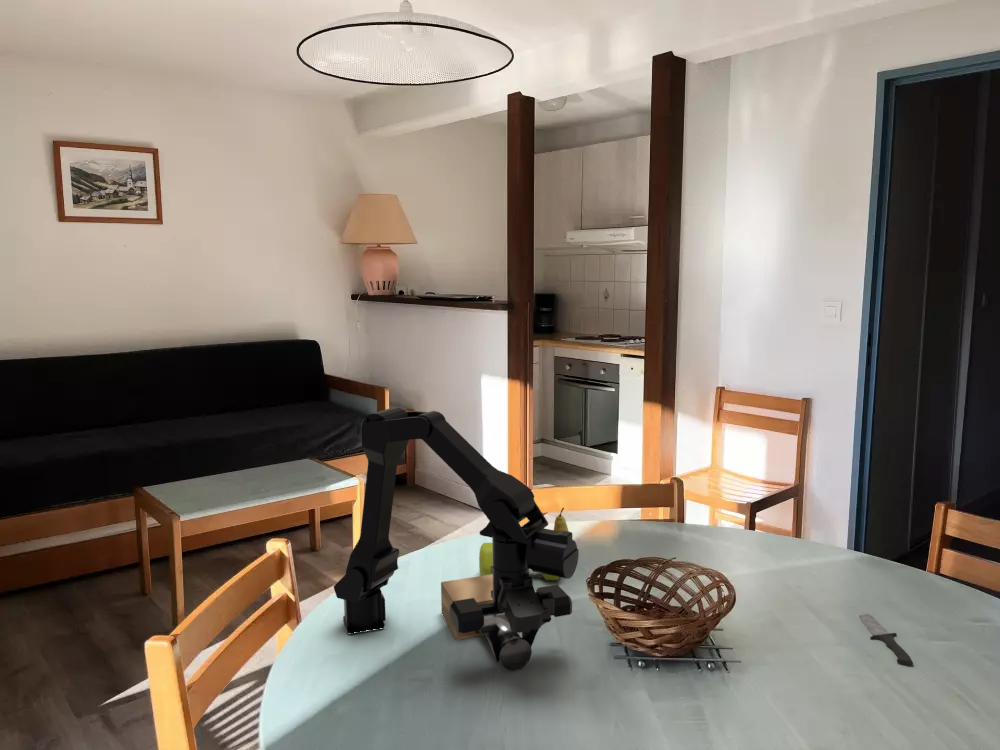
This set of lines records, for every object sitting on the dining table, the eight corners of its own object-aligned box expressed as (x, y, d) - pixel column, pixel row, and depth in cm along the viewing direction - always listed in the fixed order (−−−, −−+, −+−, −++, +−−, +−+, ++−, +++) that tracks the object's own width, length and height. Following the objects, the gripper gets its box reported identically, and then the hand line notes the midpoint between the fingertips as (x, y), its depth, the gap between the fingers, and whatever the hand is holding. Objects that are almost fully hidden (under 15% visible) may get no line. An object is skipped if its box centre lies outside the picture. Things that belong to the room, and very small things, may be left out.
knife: (837, 601, 142) (865, 601, 142) (837, 606, 143) (864, 606, 142) (894, 660, 120) (926, 661, 120) (893, 667, 120) (926, 667, 120)
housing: (456, 639, 130) (455, 605, 129) (441, 614, 139) (441, 582, 138) (522, 628, 134) (522, 594, 133) (503, 603, 143) (503, 572, 142)
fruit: (578, 555, 166) (578, 501, 164) (566, 564, 161) (566, 509, 159) (555, 550, 169) (555, 497, 167) (543, 558, 164) (543, 505, 162)
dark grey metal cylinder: (500, 673, 119) (500, 642, 118) (473, 630, 132) (472, 602, 131) (531, 667, 120) (531, 636, 119) (501, 625, 134) (501, 597, 133)
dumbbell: (558, 569, 159) (558, 536, 158) (562, 585, 151) (562, 551, 150) (479, 571, 158) (478, 538, 157) (479, 587, 150) (479, 553, 149)
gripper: (468, 595, 108) (469, 696, 111) (587, 576, 114) (586, 673, 117) (447, 565, 119) (449, 659, 121) (558, 549, 125) (557, 639, 127)
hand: (511, 658), depth 121 cm, fingers closed on dark grey metal cylinder, 4 cm apart
